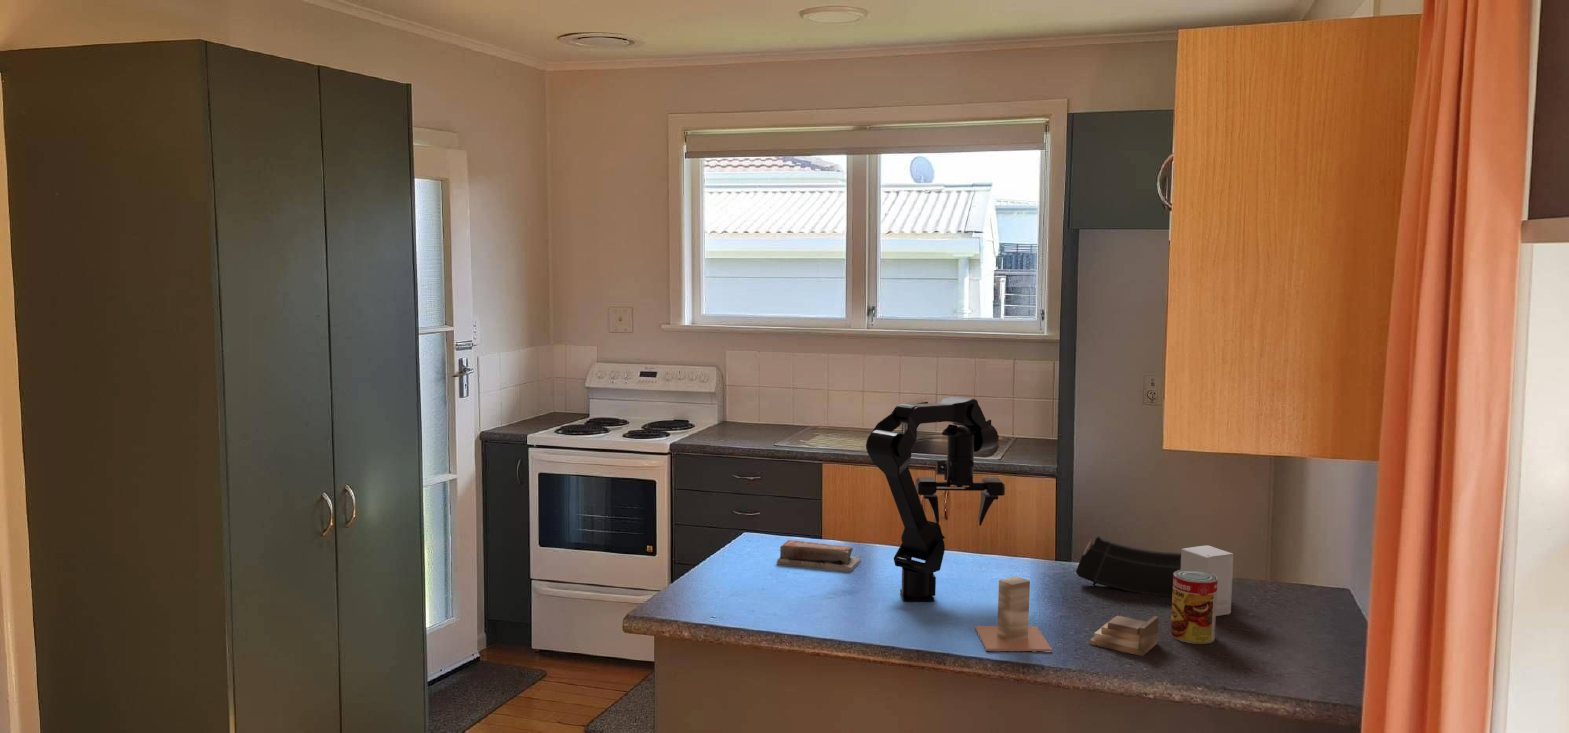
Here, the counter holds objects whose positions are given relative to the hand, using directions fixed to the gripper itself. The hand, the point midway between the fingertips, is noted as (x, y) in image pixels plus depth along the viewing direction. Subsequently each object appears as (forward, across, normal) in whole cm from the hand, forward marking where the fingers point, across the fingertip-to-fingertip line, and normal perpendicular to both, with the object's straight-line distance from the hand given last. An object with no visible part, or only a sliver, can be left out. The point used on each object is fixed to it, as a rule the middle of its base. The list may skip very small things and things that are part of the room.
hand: (958, 525), depth 240 cm
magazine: (+13, -41, +5) cm, 43 cm away
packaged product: (+14, +30, -14) cm, 36 cm away
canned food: (+13, -40, +32) cm, 53 cm away
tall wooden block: (+12, -5, +35) cm, 37 cm away
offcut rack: (+13, -26, +36) cm, 46 cm away
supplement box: (+13, -48, +17) cm, 53 cm away
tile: (+13, -5, +35) cm, 38 cm away
